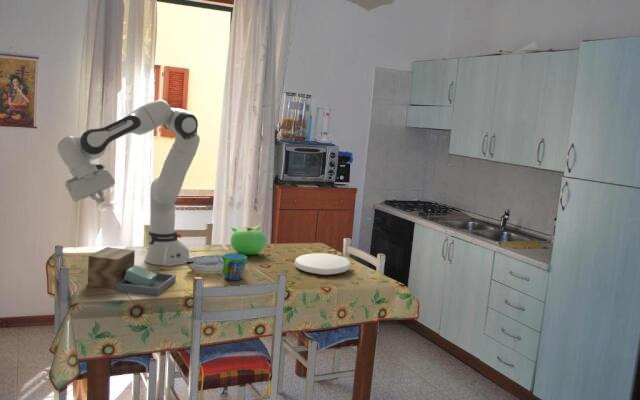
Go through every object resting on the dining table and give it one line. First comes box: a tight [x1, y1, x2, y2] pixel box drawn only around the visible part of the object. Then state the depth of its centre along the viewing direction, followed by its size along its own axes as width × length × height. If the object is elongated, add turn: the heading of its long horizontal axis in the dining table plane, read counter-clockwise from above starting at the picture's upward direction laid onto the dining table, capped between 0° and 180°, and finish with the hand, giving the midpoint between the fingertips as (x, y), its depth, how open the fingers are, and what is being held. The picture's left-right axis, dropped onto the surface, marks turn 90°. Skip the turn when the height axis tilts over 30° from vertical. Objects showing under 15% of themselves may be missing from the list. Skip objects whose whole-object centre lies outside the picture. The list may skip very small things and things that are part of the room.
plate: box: [294, 252, 351, 276], centre depth 295 cm, size 28×6×27 cm
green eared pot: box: [230, 225, 267, 256], centre depth 310 cm, size 18×17×15 cm
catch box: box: [115, 271, 177, 297], centre depth 244 cm, size 17×20×3 cm
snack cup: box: [221, 252, 248, 281], centre depth 266 cm, size 16×10×10 cm
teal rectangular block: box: [124, 264, 157, 287], centre depth 244 cm, size 4×8×10 cm
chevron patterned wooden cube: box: [87, 246, 136, 290], centre depth 245 cm, size 12×16×12 cm
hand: (101, 202), depth 250 cm, fingers closed
